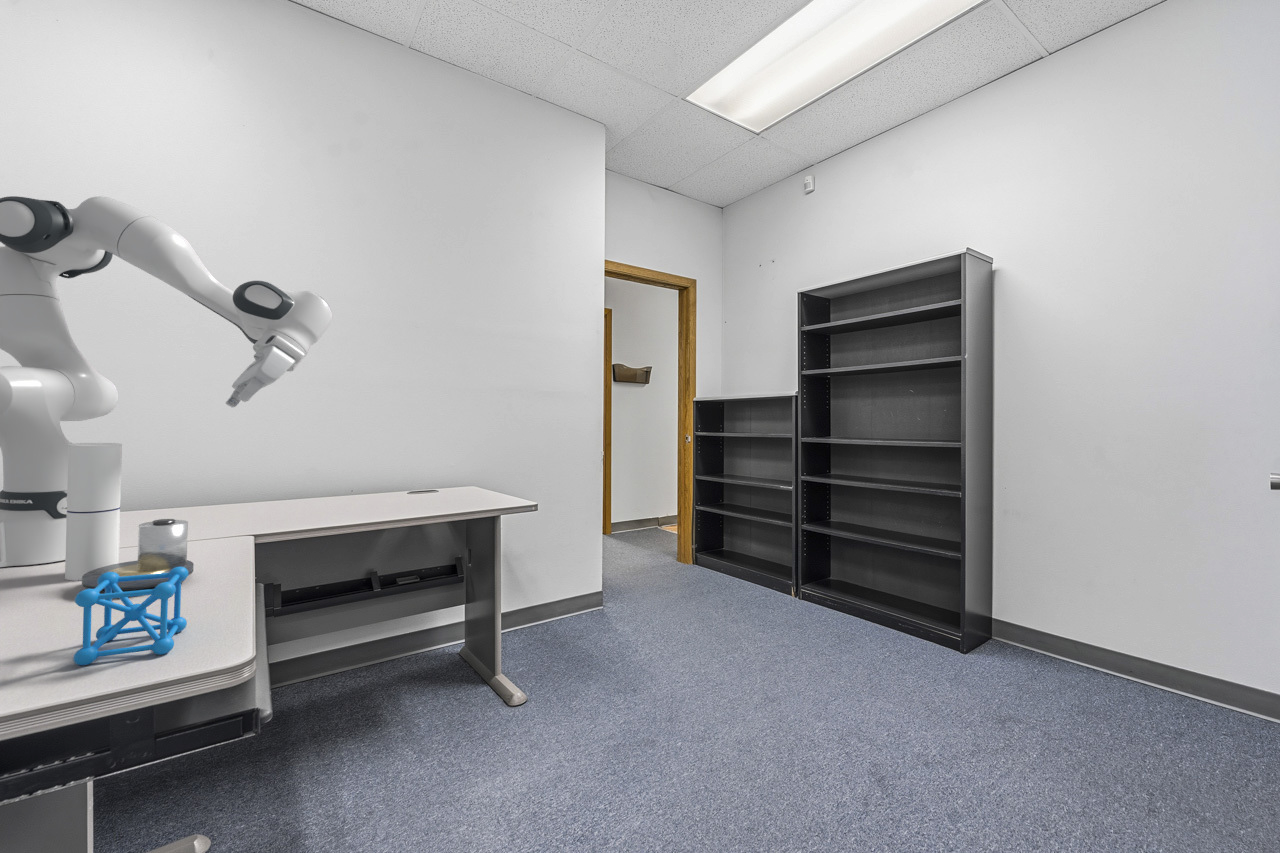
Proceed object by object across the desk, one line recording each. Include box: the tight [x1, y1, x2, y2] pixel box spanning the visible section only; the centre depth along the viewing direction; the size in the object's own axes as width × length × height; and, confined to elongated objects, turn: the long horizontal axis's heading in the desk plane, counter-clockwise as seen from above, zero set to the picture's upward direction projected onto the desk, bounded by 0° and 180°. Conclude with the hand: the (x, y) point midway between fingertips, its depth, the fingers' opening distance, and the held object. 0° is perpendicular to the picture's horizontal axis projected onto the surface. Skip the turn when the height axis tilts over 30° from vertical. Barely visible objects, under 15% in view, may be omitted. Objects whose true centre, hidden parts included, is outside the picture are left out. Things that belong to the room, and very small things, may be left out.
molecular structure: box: [72, 567, 189, 666], centre depth 75 cm, size 10×10×10 cm
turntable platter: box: [81, 559, 195, 591], centre depth 99 cm, size 15×15×1 cm
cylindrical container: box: [64, 442, 123, 582], centre depth 102 cm, size 7×7×25 cm
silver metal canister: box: [137, 518, 189, 571], centre depth 102 cm, size 7×7×9 cm
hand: (235, 402), depth 112 cm, fingers open, 8 cm apart
